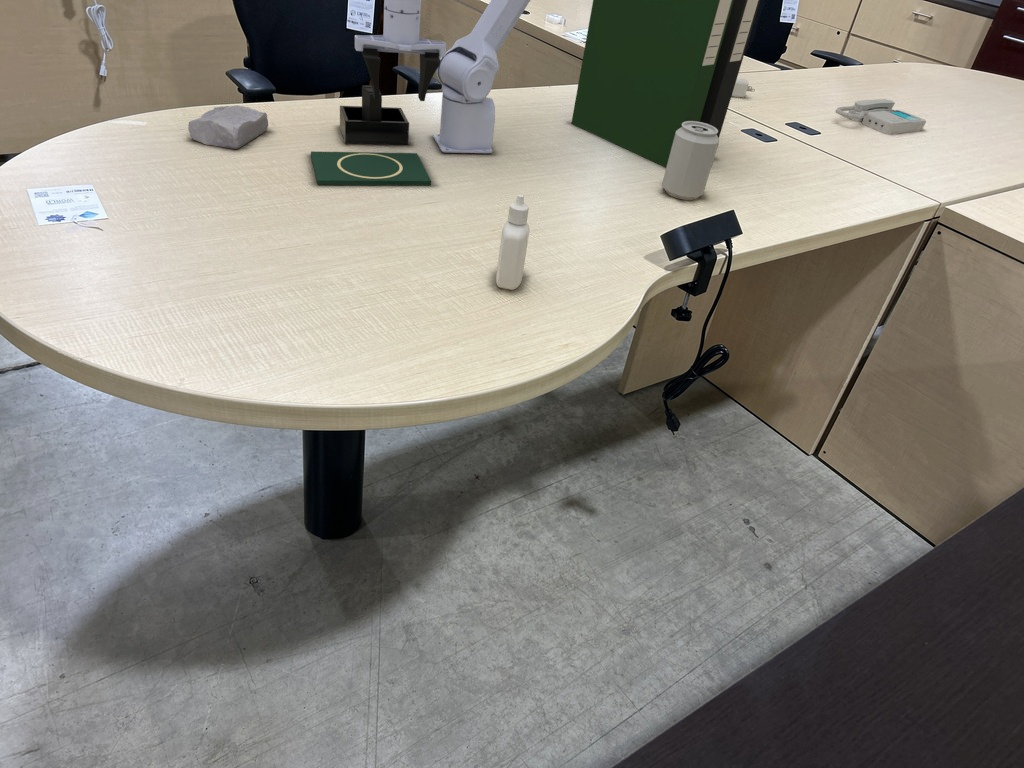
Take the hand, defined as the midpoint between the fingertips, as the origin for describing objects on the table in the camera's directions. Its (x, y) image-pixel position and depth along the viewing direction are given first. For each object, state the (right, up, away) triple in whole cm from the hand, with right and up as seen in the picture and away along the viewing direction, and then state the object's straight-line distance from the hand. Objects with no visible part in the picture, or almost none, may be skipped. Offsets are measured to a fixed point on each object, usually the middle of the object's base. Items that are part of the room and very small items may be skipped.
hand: (398, 98), depth 123 cm
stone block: (-30, -6, +2) cm, 30 cm away
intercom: (+111, +17, +62) cm, 128 cm away
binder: (+46, +2, +28) cm, 54 cm away
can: (+49, -14, +8) cm, 52 cm away
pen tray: (-6, -3, +11) cm, 13 cm away
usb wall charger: (+78, +27, +68) cm, 107 cm away
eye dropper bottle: (+19, -34, -25) cm, 46 cm away
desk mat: (-4, -13, -2) cm, 14 cm away
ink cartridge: (-7, -3, +10) cm, 12 cm away
